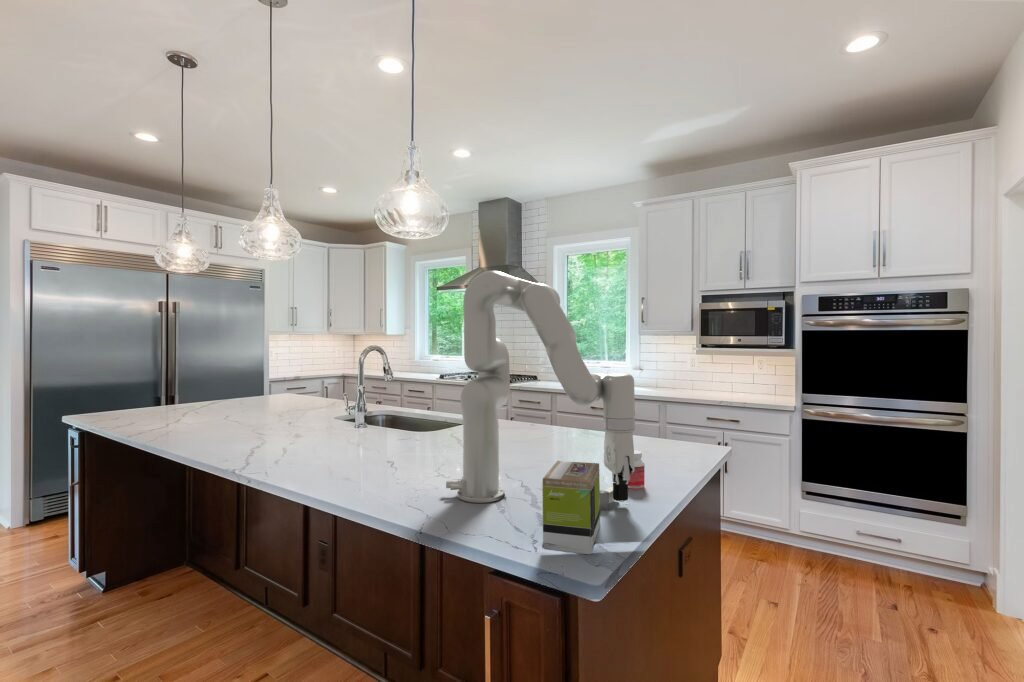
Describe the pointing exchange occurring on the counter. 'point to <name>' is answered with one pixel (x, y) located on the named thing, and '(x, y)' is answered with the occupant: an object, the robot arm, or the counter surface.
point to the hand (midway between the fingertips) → (620, 499)
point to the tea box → (571, 507)
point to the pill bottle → (637, 473)
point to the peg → (606, 498)
